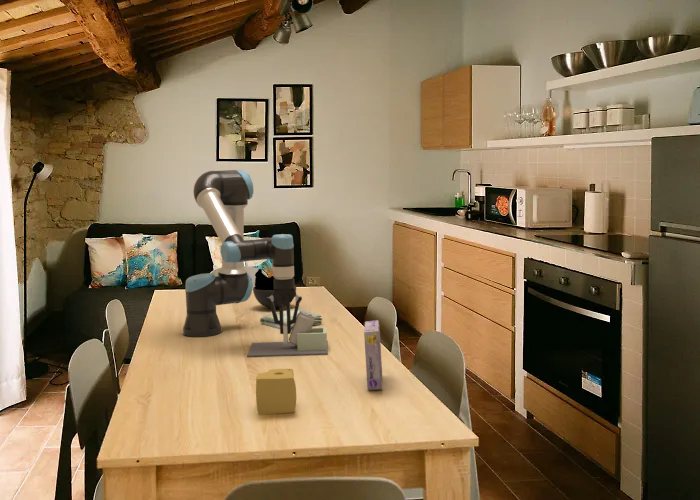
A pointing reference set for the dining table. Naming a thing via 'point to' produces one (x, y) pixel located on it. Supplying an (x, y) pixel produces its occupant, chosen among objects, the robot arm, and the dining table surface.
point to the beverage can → (301, 325)
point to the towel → (269, 319)
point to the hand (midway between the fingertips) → (285, 342)
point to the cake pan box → (373, 355)
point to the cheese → (276, 392)
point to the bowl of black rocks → (264, 289)
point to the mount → (305, 345)
